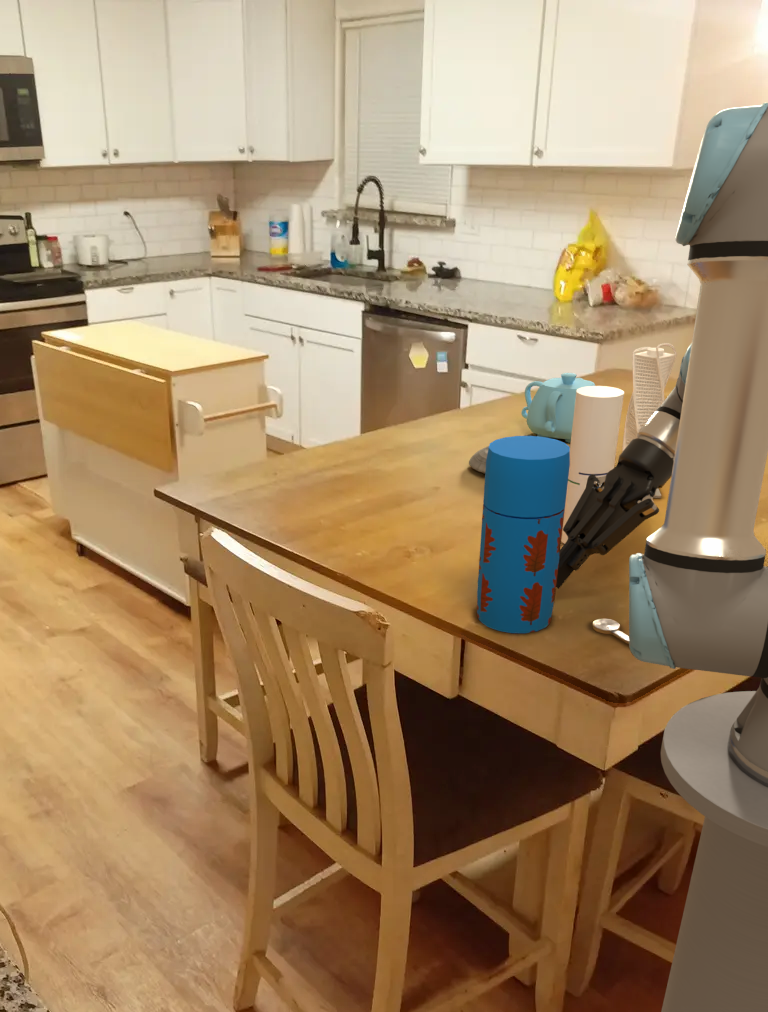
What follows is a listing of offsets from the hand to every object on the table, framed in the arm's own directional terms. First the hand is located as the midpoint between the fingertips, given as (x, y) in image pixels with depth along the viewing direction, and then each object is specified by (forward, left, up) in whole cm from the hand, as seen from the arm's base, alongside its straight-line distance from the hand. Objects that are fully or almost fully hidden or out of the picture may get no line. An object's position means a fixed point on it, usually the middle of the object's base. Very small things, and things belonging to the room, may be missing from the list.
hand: (550, 582), depth 138 cm
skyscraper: (+30, -44, -4) cm, 53 cm away
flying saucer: (+53, -31, -4) cm, 61 cm away
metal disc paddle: (-13, -2, -4) cm, 13 cm away
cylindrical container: (+17, -20, -4) cm, 27 cm away
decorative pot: (+66, -56, -4) cm, 87 cm away
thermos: (-1, +7, -4) cm, 8 cm away
